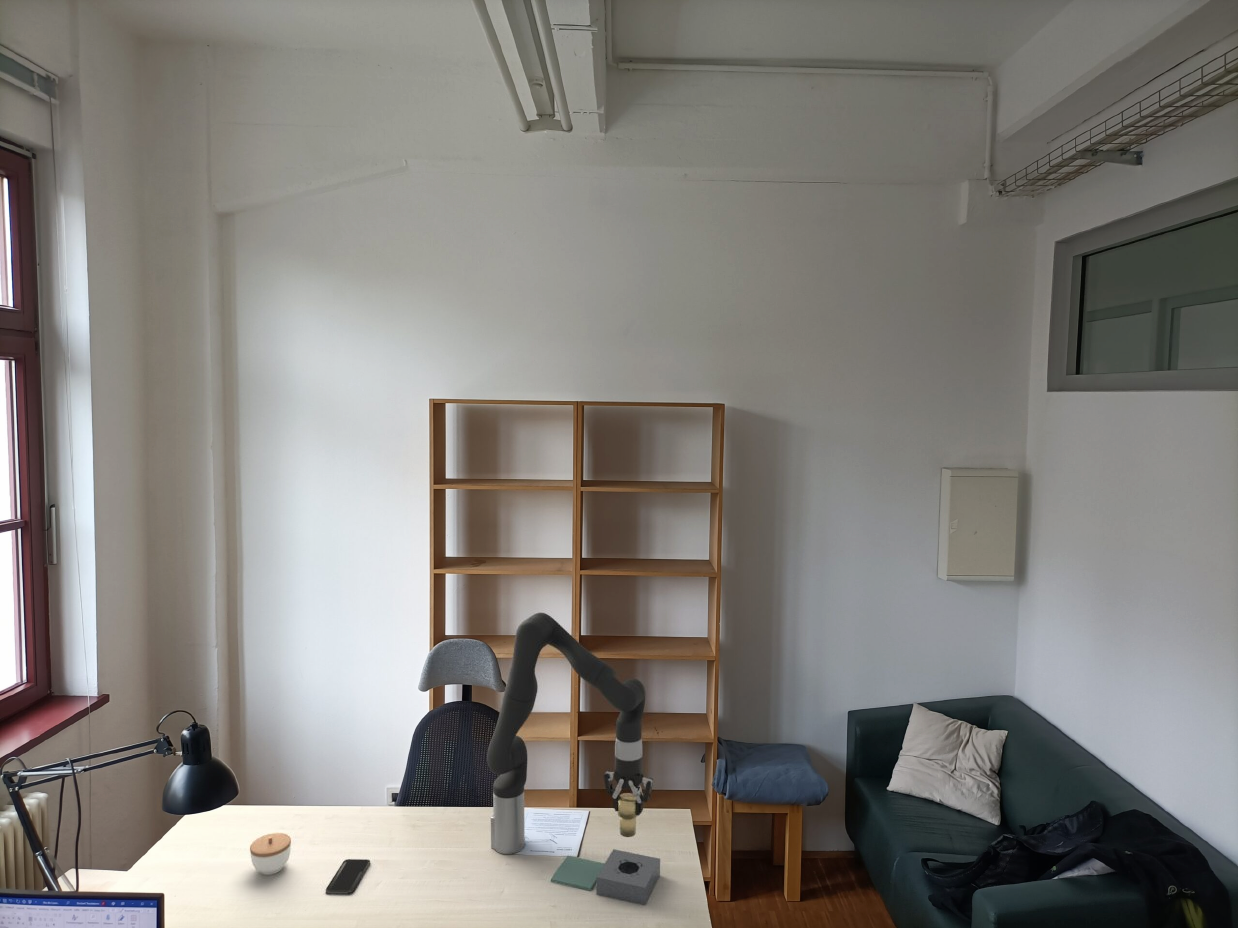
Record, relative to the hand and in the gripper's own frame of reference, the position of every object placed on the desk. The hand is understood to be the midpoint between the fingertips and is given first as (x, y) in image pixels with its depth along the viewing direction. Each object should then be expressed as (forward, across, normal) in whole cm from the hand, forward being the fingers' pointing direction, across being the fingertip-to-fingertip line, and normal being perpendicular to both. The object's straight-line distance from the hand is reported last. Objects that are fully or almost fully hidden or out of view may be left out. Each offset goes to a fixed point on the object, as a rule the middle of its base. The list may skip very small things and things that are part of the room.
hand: (628, 811), depth 219 cm
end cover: (+6, 0, 0) cm, 6 cm away
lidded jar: (+22, -99, -27) cm, 105 cm away
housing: (+21, 0, 0) cm, 21 cm away
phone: (+22, -75, -23) cm, 82 cm away
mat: (+21, -14, 0) cm, 26 cm away
